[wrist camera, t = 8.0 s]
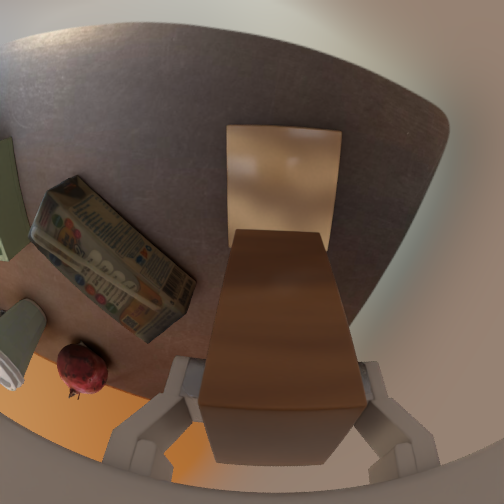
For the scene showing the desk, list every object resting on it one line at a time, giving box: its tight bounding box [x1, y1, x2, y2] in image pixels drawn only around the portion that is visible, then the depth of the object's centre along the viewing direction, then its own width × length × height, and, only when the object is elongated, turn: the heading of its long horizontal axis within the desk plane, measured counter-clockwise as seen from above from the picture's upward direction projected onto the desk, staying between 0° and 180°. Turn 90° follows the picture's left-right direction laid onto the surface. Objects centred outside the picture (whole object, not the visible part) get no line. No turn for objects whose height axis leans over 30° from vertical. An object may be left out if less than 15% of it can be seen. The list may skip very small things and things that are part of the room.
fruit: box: [57, 340, 108, 399], centre depth 38 cm, size 9×10×10 cm
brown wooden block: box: [198, 229, 367, 466], centre depth 11 cm, size 5×4×9 cm
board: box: [227, 125, 342, 251], centre depth 26 cm, size 12×10×1 cm
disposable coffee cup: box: [0, 298, 47, 391], centre depth 32 cm, size 11×11×15 cm
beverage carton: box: [28, 176, 196, 344], centre depth 28 cm, size 8×19×7 cm, turn 44°
